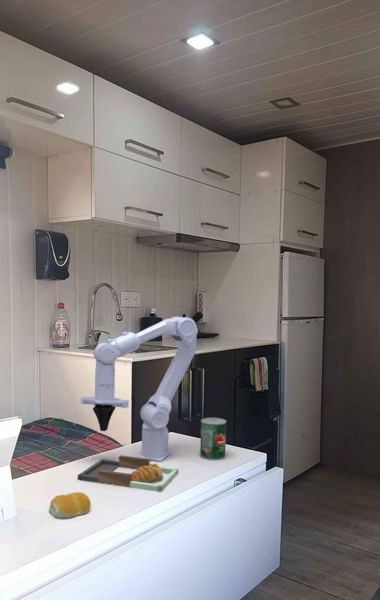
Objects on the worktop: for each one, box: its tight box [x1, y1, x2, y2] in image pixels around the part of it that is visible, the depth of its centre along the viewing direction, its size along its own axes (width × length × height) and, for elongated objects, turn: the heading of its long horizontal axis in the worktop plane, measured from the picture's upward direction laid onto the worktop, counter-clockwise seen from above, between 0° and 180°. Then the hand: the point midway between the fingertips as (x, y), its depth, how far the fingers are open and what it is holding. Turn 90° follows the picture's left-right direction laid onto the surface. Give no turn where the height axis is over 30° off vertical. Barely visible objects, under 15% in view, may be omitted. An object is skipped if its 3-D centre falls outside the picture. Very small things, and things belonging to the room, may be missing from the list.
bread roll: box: [48, 491, 92, 519], centre depth 113 cm, size 8×9×4 cm
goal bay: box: [129, 465, 179, 492], centre depth 132 cm, size 14×8×1 cm, turn 163°
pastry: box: [130, 463, 164, 484], centre depth 132 cm, size 9×7×4 cm
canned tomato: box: [199, 417, 227, 461], centre depth 154 cm, size 8×8×11 cm
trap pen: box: [77, 458, 120, 484], centre depth 137 cm, size 14×6×1 cm, turn 163°
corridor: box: [97, 455, 151, 488], centre depth 135 cm, size 14×9×3 cm, turn 163°
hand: (103, 430), depth 146 cm, fingers closed
